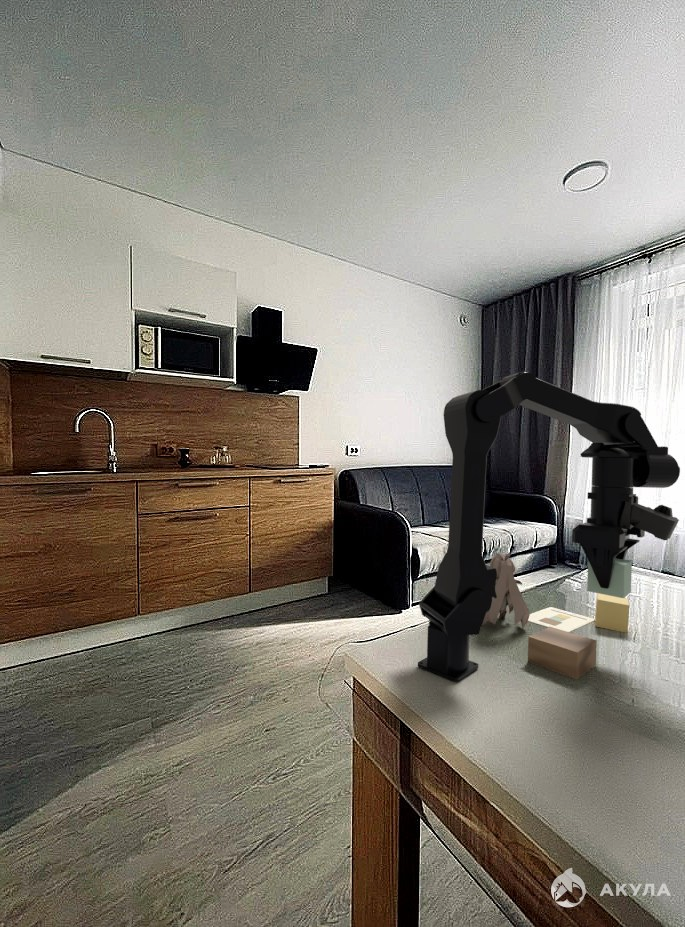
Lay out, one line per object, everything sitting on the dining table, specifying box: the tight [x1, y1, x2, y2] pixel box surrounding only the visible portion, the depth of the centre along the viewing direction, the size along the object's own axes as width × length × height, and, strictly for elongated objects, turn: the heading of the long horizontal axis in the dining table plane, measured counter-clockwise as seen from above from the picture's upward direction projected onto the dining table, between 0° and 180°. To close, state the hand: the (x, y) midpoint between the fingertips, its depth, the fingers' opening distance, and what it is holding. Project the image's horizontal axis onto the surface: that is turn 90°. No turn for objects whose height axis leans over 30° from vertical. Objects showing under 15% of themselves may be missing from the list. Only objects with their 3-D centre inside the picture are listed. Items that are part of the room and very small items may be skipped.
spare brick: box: [594, 593, 630, 633], centre depth 83 cm, size 5×5×5 cm
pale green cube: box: [586, 559, 633, 598], centre depth 71 cm, size 5×5×5 cm
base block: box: [527, 627, 598, 680], centre depth 67 cm, size 7×7×4 cm
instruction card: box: [527, 606, 595, 633], centre depth 86 cm, size 12×9×1 cm
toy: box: [481, 552, 530, 629], centre depth 82 cm, size 9×8×15 cm
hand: (609, 584), depth 71 cm, fingers closed on pale green cube, 5 cm apart
